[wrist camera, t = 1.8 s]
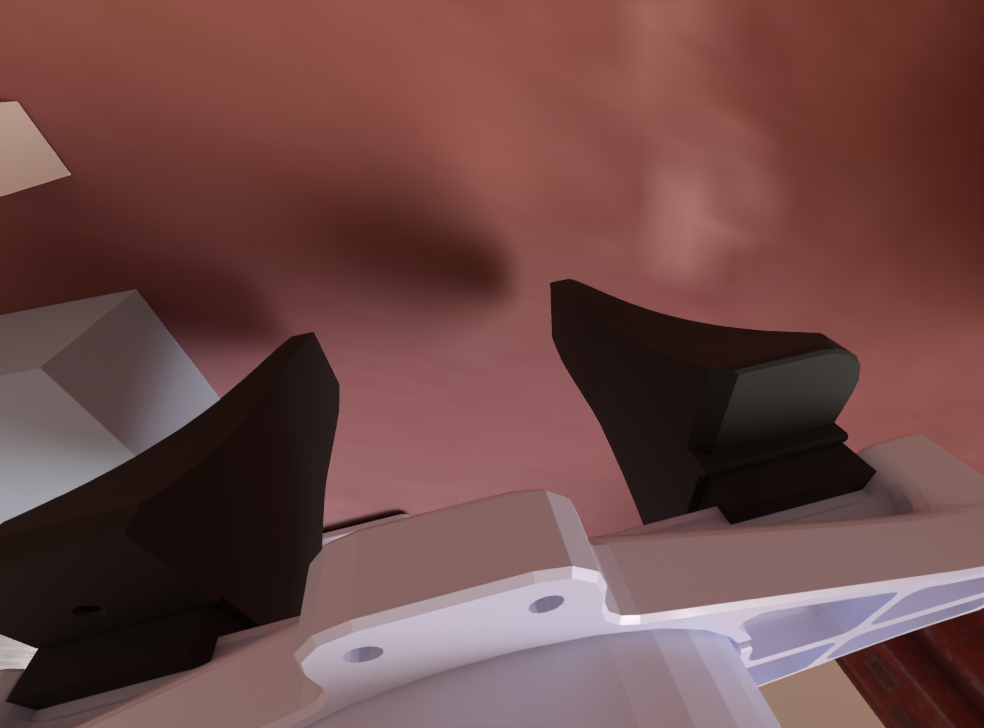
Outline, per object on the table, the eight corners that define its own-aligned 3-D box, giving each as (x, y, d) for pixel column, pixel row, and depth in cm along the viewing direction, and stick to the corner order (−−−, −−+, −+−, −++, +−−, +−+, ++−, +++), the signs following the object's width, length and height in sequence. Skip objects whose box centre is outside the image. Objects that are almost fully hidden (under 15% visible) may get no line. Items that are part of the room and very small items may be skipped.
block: (230, 407, 14) (183, 500, 11) (88, 438, 14) (0, 543, 11) (138, 286, 11) (40, 367, 8) (-45, 322, 11) (-222, 421, 8)
